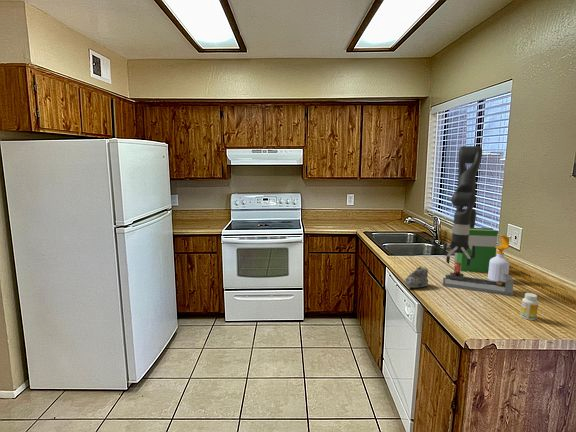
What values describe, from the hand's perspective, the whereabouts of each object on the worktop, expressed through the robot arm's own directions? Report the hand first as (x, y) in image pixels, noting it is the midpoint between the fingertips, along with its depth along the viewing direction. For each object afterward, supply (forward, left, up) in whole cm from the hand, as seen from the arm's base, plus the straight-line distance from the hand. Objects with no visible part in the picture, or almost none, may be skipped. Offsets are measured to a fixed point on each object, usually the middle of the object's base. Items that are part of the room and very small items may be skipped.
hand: (457, 264), depth 174 cm
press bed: (0, +9, -11) cm, 14 cm away
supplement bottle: (+28, +26, -11) cm, 40 cm away
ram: (0, 0, -9) cm, 9 cm away
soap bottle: (-18, +20, -11) cm, 29 cm away
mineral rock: (+11, -18, -11) cm, 24 cm away
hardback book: (-32, +10, -11) cm, 35 cm away
